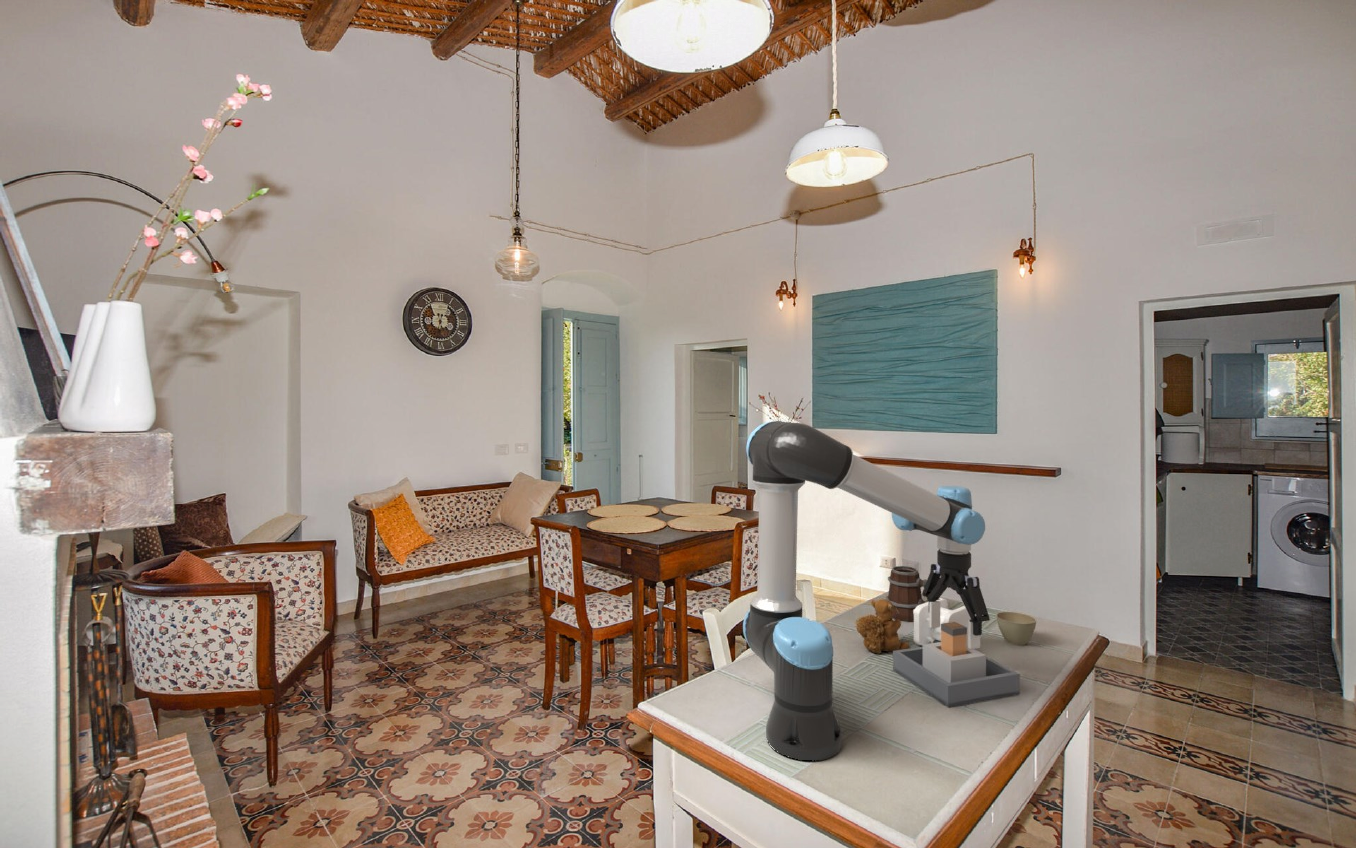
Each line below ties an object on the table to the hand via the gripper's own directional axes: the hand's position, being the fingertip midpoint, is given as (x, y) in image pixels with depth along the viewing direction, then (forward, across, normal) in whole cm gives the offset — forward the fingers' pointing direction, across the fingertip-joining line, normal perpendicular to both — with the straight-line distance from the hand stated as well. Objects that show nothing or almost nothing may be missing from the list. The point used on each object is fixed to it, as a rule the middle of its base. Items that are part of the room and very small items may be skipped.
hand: (953, 637), depth 149 cm
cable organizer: (+11, +19, -13) cm, 26 cm away
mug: (+11, +41, -19) cm, 47 cm away
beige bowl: (+11, +15, -34) cm, 39 cm away
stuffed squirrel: (+11, +23, +5) cm, 26 cm away
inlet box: (+11, 0, 0) cm, 11 cm away
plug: (+7, 0, 0) cm, 7 cm away
